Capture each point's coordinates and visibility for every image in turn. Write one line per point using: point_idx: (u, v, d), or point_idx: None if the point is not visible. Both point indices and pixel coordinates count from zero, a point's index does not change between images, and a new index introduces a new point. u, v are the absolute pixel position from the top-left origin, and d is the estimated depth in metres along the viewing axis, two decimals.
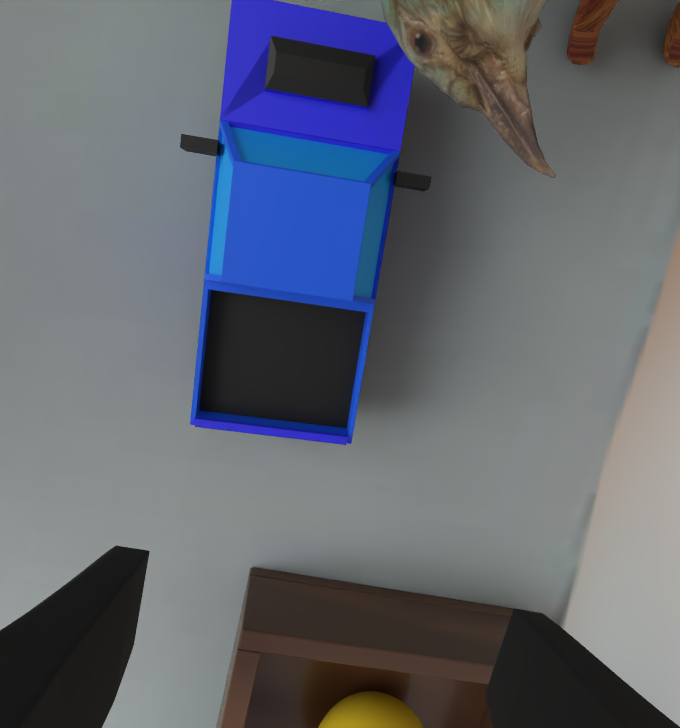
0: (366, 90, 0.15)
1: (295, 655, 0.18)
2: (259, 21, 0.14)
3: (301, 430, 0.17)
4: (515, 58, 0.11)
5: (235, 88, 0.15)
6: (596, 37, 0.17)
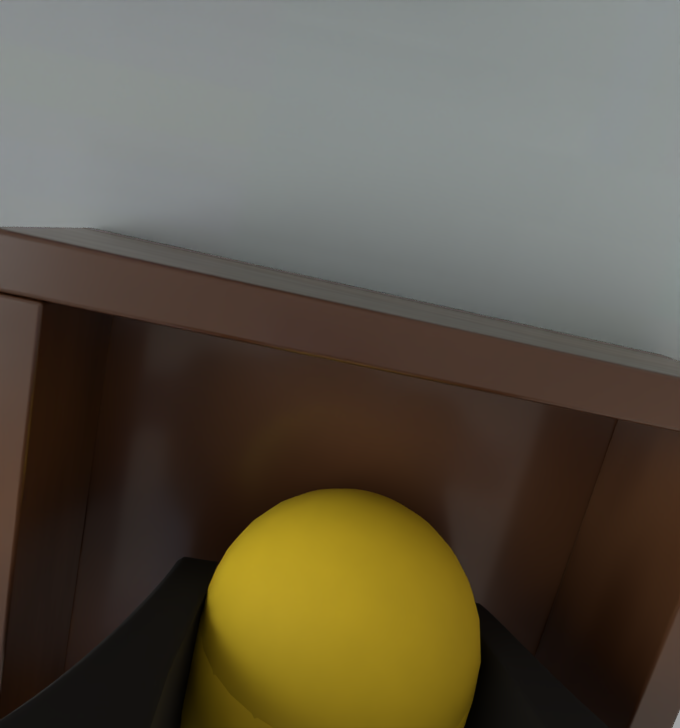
0: None
1: (136, 314, 0.07)
2: None
3: None
4: None
5: None
6: None
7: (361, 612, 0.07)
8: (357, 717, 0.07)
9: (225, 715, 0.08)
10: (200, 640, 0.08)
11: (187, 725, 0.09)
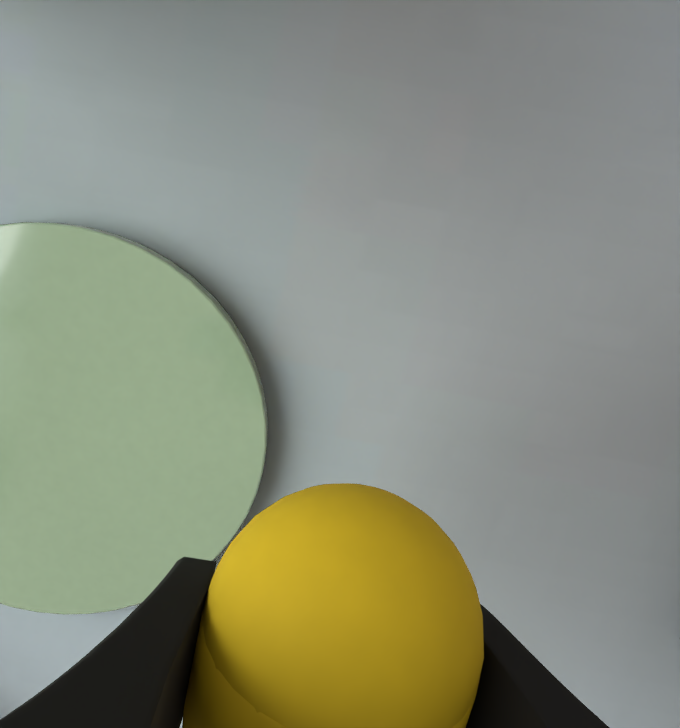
0: None
1: None
2: None
3: None
4: None
5: None
6: None
7: (364, 606, 0.07)
8: (360, 711, 0.07)
9: (228, 709, 0.08)
10: (202, 635, 0.08)
11: (189, 720, 0.09)
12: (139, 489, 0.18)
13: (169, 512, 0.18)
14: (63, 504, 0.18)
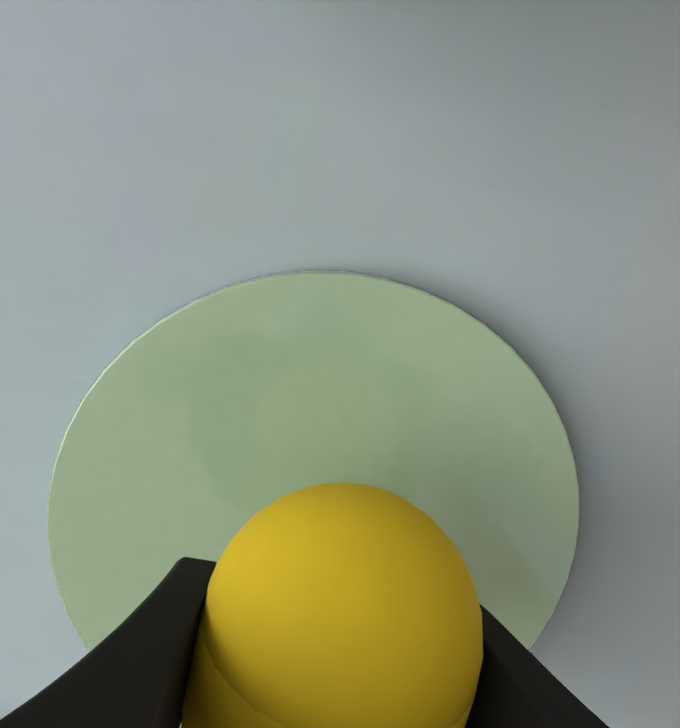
0: None
1: None
2: None
3: None
4: None
5: None
6: None
7: (363, 605, 0.07)
8: (359, 710, 0.07)
9: (226, 709, 0.08)
10: (201, 634, 0.08)
11: (188, 720, 0.08)
12: None
13: None
14: None
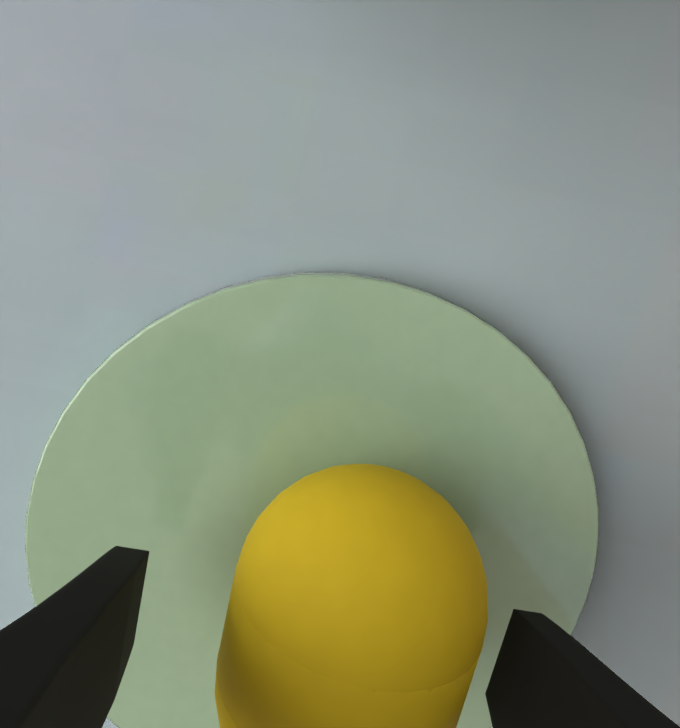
0: None
1: None
2: None
3: None
4: None
5: None
6: None
7: (404, 570, 0.08)
8: (409, 660, 0.08)
9: (282, 677, 0.08)
10: (243, 614, 0.09)
11: (232, 694, 0.09)
12: None
13: None
14: None
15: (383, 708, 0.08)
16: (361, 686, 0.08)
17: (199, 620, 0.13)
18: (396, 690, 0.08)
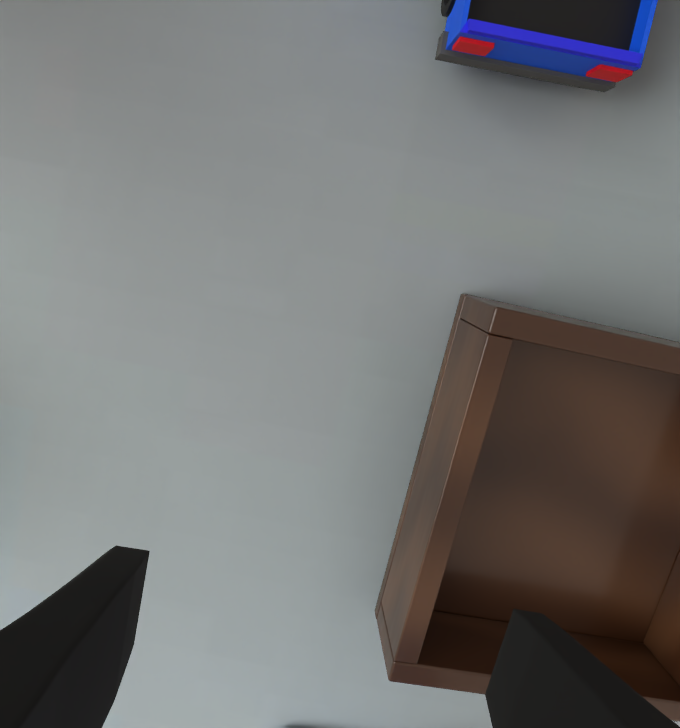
0: None
1: (552, 344, 0.16)
2: None
3: (588, 44, 0.14)
4: None
5: None
6: None
7: None
8: None
9: None
10: None
11: None
12: None
13: None
14: None
15: None
16: None
17: None
18: None
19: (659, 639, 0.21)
